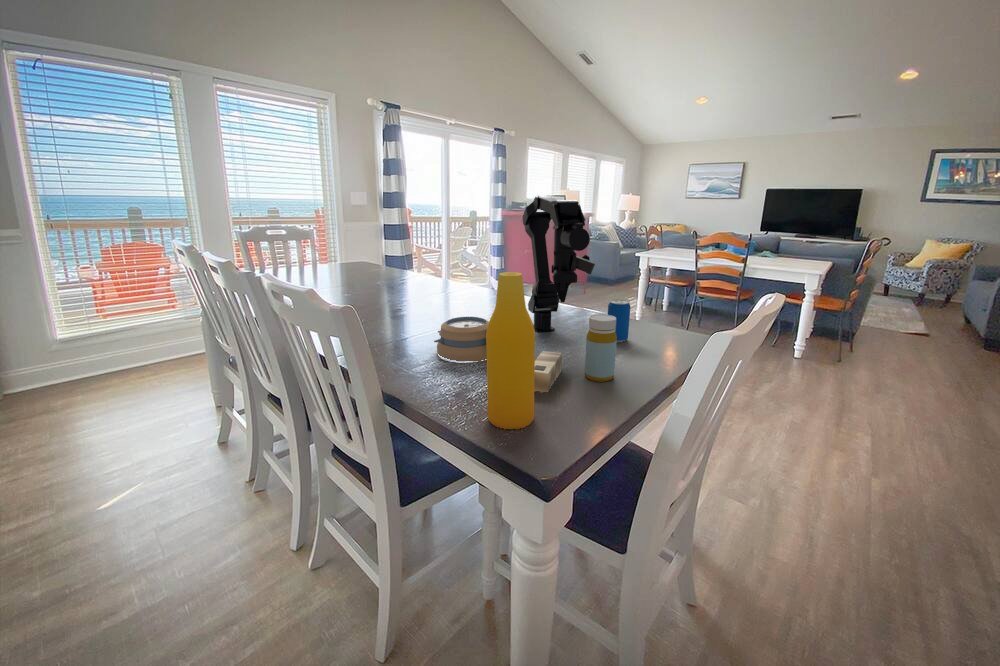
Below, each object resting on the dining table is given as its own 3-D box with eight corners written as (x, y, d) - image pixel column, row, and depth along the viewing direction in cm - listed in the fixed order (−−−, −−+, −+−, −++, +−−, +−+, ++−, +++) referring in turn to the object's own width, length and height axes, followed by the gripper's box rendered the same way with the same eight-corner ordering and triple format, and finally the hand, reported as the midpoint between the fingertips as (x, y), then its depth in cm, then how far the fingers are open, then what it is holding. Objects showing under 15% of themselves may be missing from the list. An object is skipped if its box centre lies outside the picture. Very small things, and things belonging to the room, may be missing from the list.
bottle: (615, 373, 110) (619, 314, 106) (612, 384, 104) (616, 322, 100) (586, 370, 112) (589, 312, 108) (582, 380, 106) (585, 320, 102)
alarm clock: (438, 314, 131) (516, 313, 132) (440, 344, 134) (516, 342, 134) (431, 331, 115) (520, 329, 115) (433, 364, 118) (520, 363, 118)
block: (542, 350, 112) (526, 370, 100) (561, 352, 111) (547, 372, 98) (542, 369, 114) (526, 391, 101) (561, 371, 112) (547, 394, 100)
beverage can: (625, 336, 139) (628, 299, 135) (629, 343, 132) (632, 304, 129) (604, 336, 139) (607, 298, 136) (607, 342, 133) (609, 303, 130)
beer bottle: (479, 425, 86) (475, 276, 77) (499, 405, 94) (497, 268, 85) (524, 435, 82) (525, 279, 74) (540, 413, 90) (543, 271, 82)
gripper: (598, 250, 114) (595, 310, 118) (589, 243, 131) (587, 295, 136) (554, 251, 115) (552, 309, 119) (552, 243, 132) (550, 295, 137)
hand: (562, 302), depth 128 cm, fingers closed
